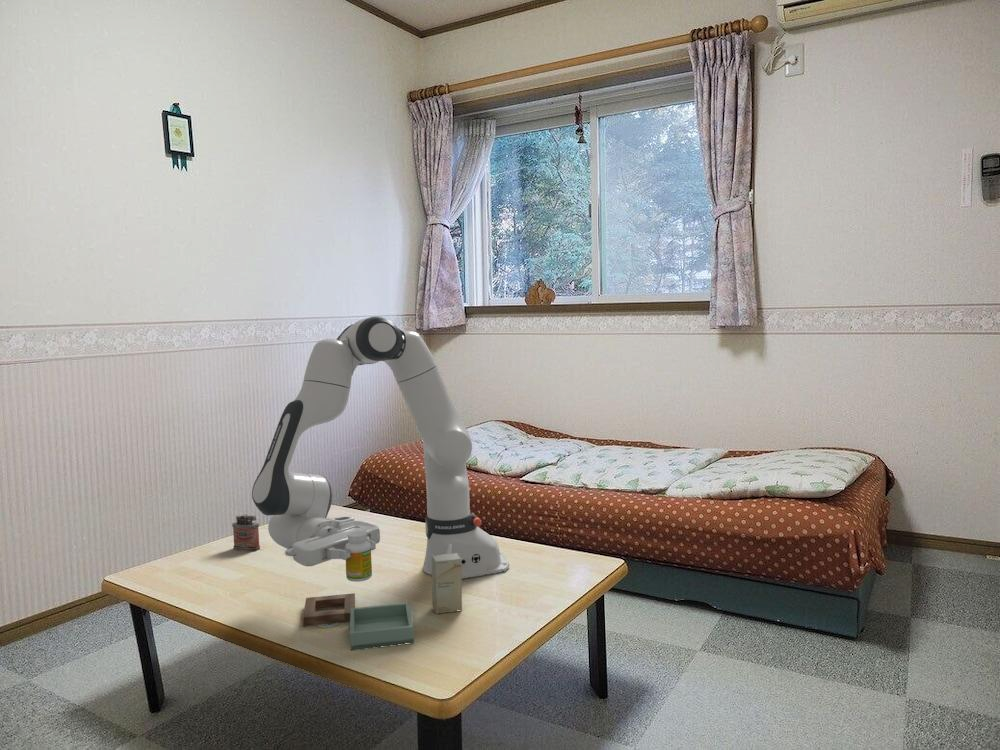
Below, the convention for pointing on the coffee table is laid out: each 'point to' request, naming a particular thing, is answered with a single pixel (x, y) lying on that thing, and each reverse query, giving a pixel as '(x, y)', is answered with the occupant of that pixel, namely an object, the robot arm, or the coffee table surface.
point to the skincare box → (446, 583)
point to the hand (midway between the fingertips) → (360, 550)
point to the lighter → (246, 533)
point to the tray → (381, 626)
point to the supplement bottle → (358, 557)
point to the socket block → (328, 616)
